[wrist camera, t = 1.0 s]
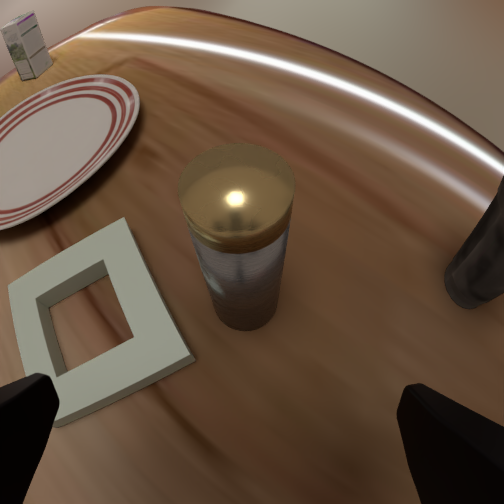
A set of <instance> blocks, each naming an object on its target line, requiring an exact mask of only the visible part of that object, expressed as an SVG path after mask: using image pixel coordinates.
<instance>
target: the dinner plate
mask: <svg viewBox="0 0 504 504" xmlns="http://www.w3.org/2000/svg"><path fill="white" fill-rule="evenodd" d="M139 107H140V99H139V94H138V92H137V90H136V88H135V87H134V86H133V85H132V84H131V83H130V82H128V81H127V80H125V79H123V78H120V77H117V76H112V75H88V76H82V77H77V78H73V79H69V80H66V81H63V82H60V83H58V84H55V85H53V86H50V87H48V88H46V89H44V90H42V91H40V92H38V93H36V94H34V95H32V96H30V97H29V98H27V99H25V100H24V101H22V102H21V103H19V104H18V105H16V106H15V107H13V108H12V109H11V110H9V111H8V112H7V113H6V114H4V115H3V116H2V117H1V118H0V230H3V229H7V228H10V227H13V226H16V225H18V224H21V223H23V222H25V221H27V220H29V219H31V218H33V217H35V216H37V215H39V214H41V213H42V212H44V211H46V210H47V209H49V208H50V207H52V206H53V205H55V204H56V203H58V202H59V201H61V200H62V199H64V198H65V197H66V196H68V195H69V194H70V193H72V192H73V191H74V190H75V189H77V188H78V187H79V186H80V185H82V184H83V183H84V182H85V181H86V180H88V179H89V178H90V177H91V176H92V175H93V174H94V173H95V172H97V171H98V170H99V169H100V168H101V167H102V166H103V165H104V164H105V163H106V162H107V161H108V160H109V159H110V157H111V156H112V155H113V154H114V153H115V152H116V150H117V149H118V148H119V147H120V145H121V144H122V143H123V141H124V140H125V139H126V137H127V136H128V134H129V132H130V131H131V129H132V127H133V125H134V123H135V121H136V118H137V116H138V112H139Z"/></svg>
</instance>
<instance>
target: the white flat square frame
mask: <svg viewBox="0 0 504 504" xmlns="http://www.w3.org/2000/svg"><path fill="white" fill-rule="evenodd" d="M108 274H109V276H110V279H111V282H112V284H113V287H114V289H115V292H116V294H117V297H118V299H119V302H120V304H121V307H122V309H123V312H124V314H125V316H126V319H127V321H128V324H129V326H130V328H131V330H132V333H133V335H134V338H132V339H130V340H128V341H126V342H124V343H122V344H120V345H119V346H117V347H115V348H113V349H111V350H109V351H107V352H105V353H103V354H101V355H99V356H98V357H96V358H94V359H92V360H90V361H88V362H86V363H84V364H82V365H80V366H78V367H76V368H74V369H72V370H70V371H68V372H67V369H66V367H65V364H64V361H63V357H62V354H61V351H60V348H59V345H58V341H57V338H56V335H55V331H54V328H53V324H52V320H51V316H50V312H49V307H51V306H53V305H54V304H56V303H58V302H60V301H61V300H63V299H65V298H67V297H68V296H70V295H72V294H74V293H75V292H77V291H79V290H81V289H82V288H84V287H86V286H88V285H89V284H91V283H93V282H95V281H97V280H98V279H100V278H102V277H104V276H106V275H108ZM8 291H9V298H10V305H11V311H12V317H13V322H14V327H15V332H16V337H17V342H18V346H19V350H20V355H21V359H22V363H23V366H24V370H25V374H26V377H27V376H29V375H32V374H34V373H42V374H46V375H48V376H50V377H51V379H52V381H53V384H54V387H55V389H56V392H57V394H58V397H59V401H60V405H59V409H58V412H57V415H56V417H55V420H54V423H53V426H52V427H56V428H58V427H61V426H63V425H65V424H68V423H70V422H72V421H75V420H77V419H79V418H81V417H83V416H86V415H88V414H90V413H92V412H94V411H97V410H99V409H101V408H103V407H105V406H107V405H109V404H111V403H114V402H116V401H118V400H120V399H122V398H124V397H126V396H128V395H130V394H132V393H134V392H136V391H138V390H140V389H142V388H144V387H146V386H148V385H150V384H152V383H154V382H156V381H158V380H160V379H162V378H164V377H166V376H168V375H170V374H172V373H174V372H175V371H177V370H179V369H181V368H183V367H185V366H187V365H189V364H191V363H192V362H194V361H196V360H195V358H194V356H193V354H192V352H191V351H190V349H189V347H188V345H187V343H186V342H185V340H184V338H183V336H182V334H181V332H180V330H179V329H178V327H177V325H176V323H175V321H174V319H173V317H172V315H171V313H170V311H169V309H168V307H167V305H166V303H165V301H164V299H163V297H162V295H161V293H160V291H159V289H158V287H157V285H156V283H155V281H154V279H153V277H152V275H151V273H150V271H149V268H148V266H147V264H146V262H145V260H144V258H143V255H142V253H141V251H140V249H139V247H138V244H137V242H136V240H135V238H134V235H133V233H132V231H131V229H130V227H129V225H128V224H127V222H126V220H125V218H124V217H123V218H121V219H120V220H118V221H116V222H114V223H112V224H110V225H108V226H107V227H105V228H103V229H101V230H99V231H97V232H96V233H94V234H92V235H90V236H88V237H87V238H85V239H83V240H81V241H80V242H78V243H76V244H74V245H73V246H71V247H69V248H67V249H66V250H64V251H62V252H61V253H59V254H57V255H56V256H54V257H52V258H51V259H49V260H47V261H46V262H44V263H42V264H41V265H39V266H38V267H36V268H34V269H33V270H31V271H30V272H28V273H26V274H25V275H23V276H22V277H20V278H19V279H17V280H15V281H14V282H12V283H11V284H9V285H8Z"/></svg>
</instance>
